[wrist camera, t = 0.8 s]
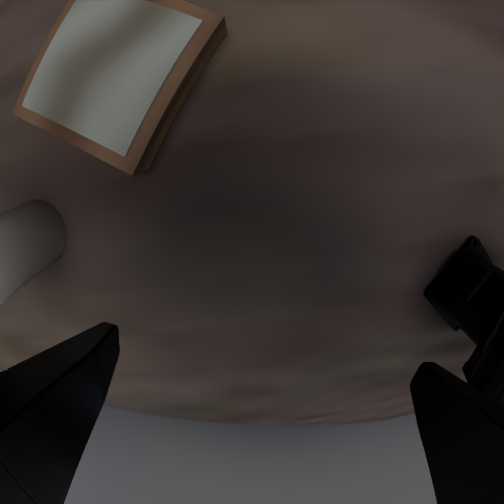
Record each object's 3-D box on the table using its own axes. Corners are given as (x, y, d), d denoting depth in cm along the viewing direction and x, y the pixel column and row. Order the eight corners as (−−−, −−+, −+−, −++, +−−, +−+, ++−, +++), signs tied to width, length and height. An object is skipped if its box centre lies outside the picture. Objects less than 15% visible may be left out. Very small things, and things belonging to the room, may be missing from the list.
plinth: (227, 33, 16) (224, 14, 13) (148, 170, 19) (130, 176, 16) (103, -9, 14) (84, -26, 11) (37, 114, 17) (10, 114, 14)
